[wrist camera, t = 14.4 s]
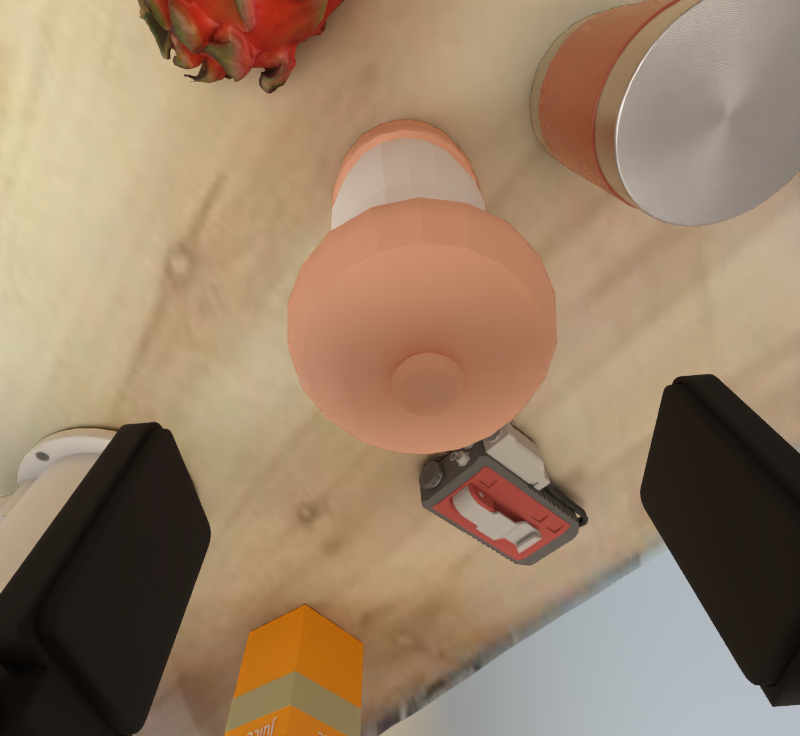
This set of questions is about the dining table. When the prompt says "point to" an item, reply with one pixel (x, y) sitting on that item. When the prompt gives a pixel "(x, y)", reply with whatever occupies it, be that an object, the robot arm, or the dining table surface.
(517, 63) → the dining table surface
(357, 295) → the salt shaker
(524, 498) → the walkie-talkie
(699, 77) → the tin can
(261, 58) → the dragon fruit
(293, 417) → the dining table surface
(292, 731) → the orange juice
